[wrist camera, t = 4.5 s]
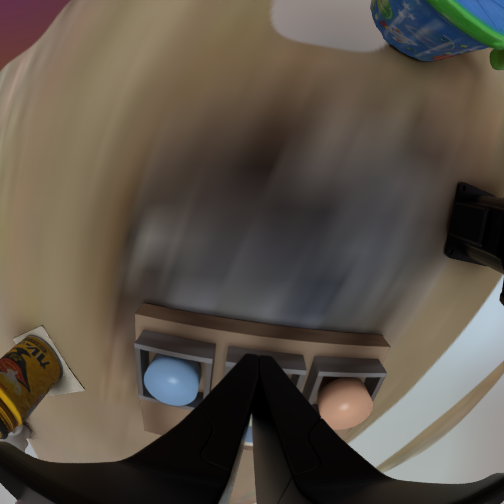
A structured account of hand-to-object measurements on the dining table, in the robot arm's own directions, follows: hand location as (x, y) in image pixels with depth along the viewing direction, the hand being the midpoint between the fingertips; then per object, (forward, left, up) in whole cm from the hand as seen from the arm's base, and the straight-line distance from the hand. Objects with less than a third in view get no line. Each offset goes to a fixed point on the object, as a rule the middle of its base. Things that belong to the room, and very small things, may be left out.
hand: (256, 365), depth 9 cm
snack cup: (-10, -22, -13) cm, 27 cm away
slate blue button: (+5, +9, -10) cm, 14 cm away
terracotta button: (-8, +9, -9) cm, 15 cm away
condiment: (+21, +16, -13) cm, 29 cm away
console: (-2, +12, -12) cm, 17 cm away
